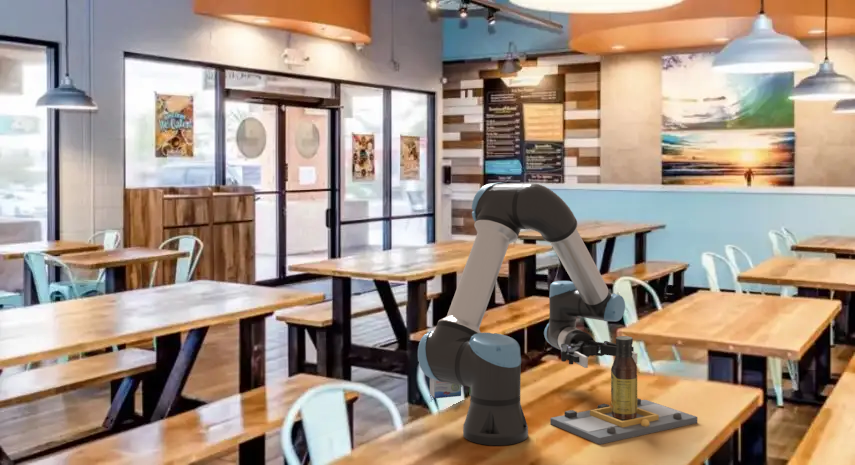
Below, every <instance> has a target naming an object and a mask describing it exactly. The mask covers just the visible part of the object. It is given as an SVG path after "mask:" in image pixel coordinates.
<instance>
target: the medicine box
mask: <svg viewBox="0 0 855 465" xmlns="http://www.w3.org/2000/svg"><path fill="white" fill-rule="evenodd" d="M429 394H430V396H431V397H432V398H434V399H444V398H445V399H446V398H454V397H455V398H456V397H462V385H458V384H453V383H448V382H440V381H438V380H435V379H432V378H429Z"/></svg>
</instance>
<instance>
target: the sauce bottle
mask: <svg viewBox="0 0 855 465" xmlns="http://www.w3.org/2000/svg"><path fill="white" fill-rule="evenodd" d="M633 340H634V338H633V337H632V336H627V335H620V336H616V337H615V343H616V356H614V360H613V363H612V365H611V369H610V388H611V389H610V406H611V410H612V416H613V417H614V418H617V419H622V420H630V419H634V418H636V416H637V412H636V411H637V398H638V366H637V365H638V364H636V363H635V361H634V359H633V357H632V347H633V343H634V342H633Z"/></svg>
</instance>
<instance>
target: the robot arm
mask: <svg viewBox="0 0 855 465" xmlns="http://www.w3.org/2000/svg"><path fill="white" fill-rule="evenodd" d="M471 210H472V212H471V217H472V220H473V221H474V224H473V226H474V229H475V231H476V232H477V234H476V236H475V238H474V241H473V244H472V246H471V249H470V251H469V254H468V258H467V260H466V263H465V266H464V268H463V271H462V273H461V276H460V279H459V282H458V284H457V287H456V290H455V293H454V296H453V298H452V300H451V304H450V305H449V309H448V312H447V315H446V316H445V317H443V318H441V319H439V320H438V321H437V323H436V326H435V329H434V330H431V331H427V332H426V333H425V334H423V336H422V337H421V338H420V341H419V343H418V346H417V360H418V362H419V368H420V369H421V371H422V374H424V375H425V376H426V377H428V378H429V379H430V378H432V379H435V380H438V381H440V382H448V383H453V384H458V385H461V387H463V386H464V387H468V388H469V387H470V388H471V396H470V402H469V407H468V409H467V412H466V416H465V421H464V423H463V428H462V431H463V433H462V434H463V435H462V436H463V438H465V439H466V440H467V441H470V442H472V443H475V444H480V445H486V446H509V445H515V444H519V443H522V442H524V441H526V440H527V438H529V427H528V423H527V420H526V418H525V417H526V416H525V414H524V411H523V407H522V405H521V380H522V379H521V378H522V376H521V374H522V373H521V371H522V370H521V366H522V365H521V364H522V356H521V346H520V344H519V342H518V341H517V340H516V339H514V338H513V337H512V336H511V337H510V336H508V335H505V334H501V333H493V332H492V333H491V332H482V331H481V330H480V327H481V324H482V321H483V319H484V316H485V313H486V310H487V307H488V305H489V302H490V300H491V296H492V293H493V291H494V288H495V285H496V282H497V279H498V277H499V274H500V271H501V268H502V265H503V262H504V259H505V258H506V254H507V252H508V248H509V244H511V243H512V244H513V243H515V242H516V241H517V240H518V238H519V234H520V232H521V230H532V231H535V232H537V233H539V235H541V237H542V239H543V240H544V241H545V242H547V243H550V245H551V246H552V248H553V250H554V252H555V253H556V255H557V257H558V259H559V260H560V262H561V265H562V266H563V268H564V269H565V272H567V274H568V276H569V278H570V280H571V281H570V280H556V281H553V282H552V283H550V285H549V296H548V299H549V301H548V302H549V320H548V323H547V324H546V326H545V328H544V331H543V335H544V338H545V341H546V342H547V343H548V344H549V345H550V346H551V347H552V348H555V349H558V350H560V355H561V356H560V358H561V359H560V361H561V362H563V363H564V362H566V361H567V360H568V364H569V365H574V363H575V364H577V365H579V366H580V367H583V368H584V369H586V368H589V366H588V365H589V364H588V363H589V357H590V356H591V357H593V356H597V357H603V356H611V357H612V356H613V357H616V342H610V341H607V340H604V341H603V342H601V341H596V340H594V338H593V336H592V335H591V334H589V333H588V332H585V331H583V330H581V329H580V328H577V327H576V326H577V318H584V319H590V320H597V321H603V322H619V321H620V320H622V318H623V316H624V314H625V310H626V303H625V302H626V301H625V299H624V297H623V296H622V295H621V294H616V293H611V292H610V289H609V287H608V286H607V284H606V282H605V280H604V278H603V276H602V275H601V272H600V270H599V269H598V267H597V265H596V263H595V261H594V259H593V257H592V255H591V253H590V252H589V250H588V248H587V246H586V244H585V243H584V240H583V239H582V236H581V234H580V233H579V231H578V220H577V219H576V216H575V214H574V212H573V211H572V210H571V208H570V207H569V206H568V205H567V203H566V202H565V201H564V200H563V198H561V197H560V196H559V195H558V194H557V193H556V192H554V191H553V190H551V189H550V188H549V187H546V186H544V185H542V184H539V183H538V184H537V183H532V182H531V183H530V182H529V183H514V182H513V183H511V182H510V183H507V182H501V181H500V182H493V183H486V184H485V185H482V186H481V187H480V188H479V189H478V190H477V191H476V192H475V195H474V196H473V200H472V203H471ZM632 357H633V359H634V361H635V363H636V365H638V353H637V352H635V349H634V346H632Z"/></svg>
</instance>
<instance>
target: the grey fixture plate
mask: <svg viewBox="0 0 855 465" xmlns="http://www.w3.org/2000/svg"><path fill="white" fill-rule="evenodd" d="M636 412H637V416H636V418H634V419H630V420H622V419H617V418H614V417H613V416H612V410H611V404H610V405H609V404H606V403H601V404H597V408H594V409H588V410H585V411H584V410H583V411H579V412H578V411H576V410H573V409H571V410H566V411H565V410H564V414H562V415H558V416H554V417H550V418H549V422H550V423H549V424H550V425H552V426H554V427H557V428H560V430H561V429H562V430H564V431H566V432H569V433H571V434H574V435H576V436H578V437H581V438H583V439H585V440H588V441H590V442H593V443H595V444H598V445H603V444H608V443H613V442H616V441H621V440H626V439H631V438H635V437H640V436H644V435H649V434H653V433H658V432H662V431H667V430H671V429H676V428H680V427H684V426H690V425H695V424H698V416H696V415H692V414H689V413H686V412H684V411H681V410H678V409H675V408H671V407H669V406H666V405H662V404H659V403H657V402H654V401H651V400H648V399H641V398H639V397H637V411H636Z"/></svg>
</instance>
